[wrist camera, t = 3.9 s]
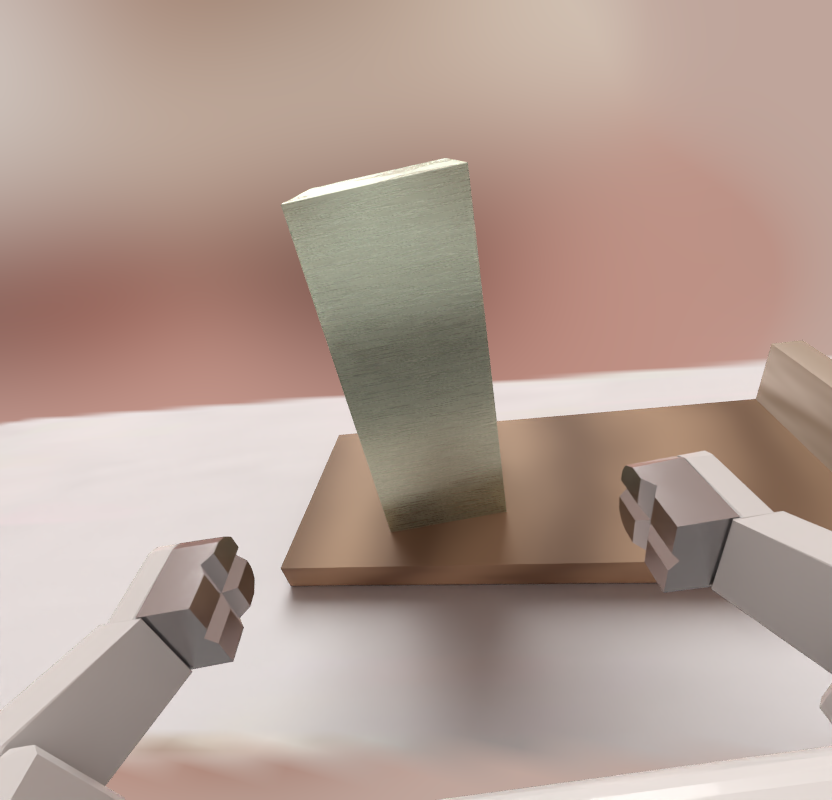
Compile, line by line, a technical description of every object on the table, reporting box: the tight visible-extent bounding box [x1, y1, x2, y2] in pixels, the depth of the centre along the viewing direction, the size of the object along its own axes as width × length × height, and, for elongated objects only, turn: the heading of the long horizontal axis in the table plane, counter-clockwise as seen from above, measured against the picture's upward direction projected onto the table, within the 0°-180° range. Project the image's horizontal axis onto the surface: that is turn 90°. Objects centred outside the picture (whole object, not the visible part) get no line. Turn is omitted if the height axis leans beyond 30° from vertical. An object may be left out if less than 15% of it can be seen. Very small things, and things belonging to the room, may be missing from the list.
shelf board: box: [281, 341, 832, 586], centre depth 18 cm, size 24×9×4 cm, turn 83°
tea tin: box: [281, 158, 507, 532], centre depth 16 cm, size 5×5×13 cm
